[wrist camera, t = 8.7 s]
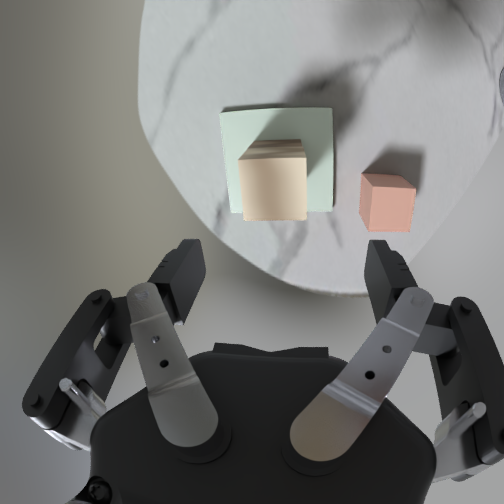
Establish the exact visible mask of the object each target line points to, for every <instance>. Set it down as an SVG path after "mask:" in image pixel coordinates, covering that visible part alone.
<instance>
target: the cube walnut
mask: <svg viewBox="0 0 504 504" xmlns="http://www.w3.org/2000/svg"><path fill="white" fill-rule="evenodd" d="M264 147H302V142H301V139H285V140H261V141H254V142H253V143H252V144H251V145H250V146H249V147H248V148H264ZM248 148H247V149H248Z"/></svg>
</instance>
